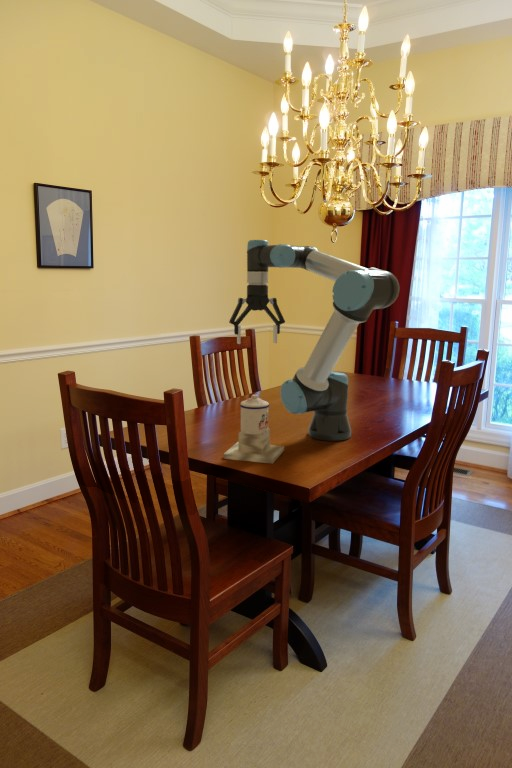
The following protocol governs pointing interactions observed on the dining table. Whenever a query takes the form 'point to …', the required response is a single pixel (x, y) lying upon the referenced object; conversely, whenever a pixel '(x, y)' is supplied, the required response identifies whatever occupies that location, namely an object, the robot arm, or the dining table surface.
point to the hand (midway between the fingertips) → (257, 343)
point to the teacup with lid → (254, 416)
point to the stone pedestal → (254, 449)
